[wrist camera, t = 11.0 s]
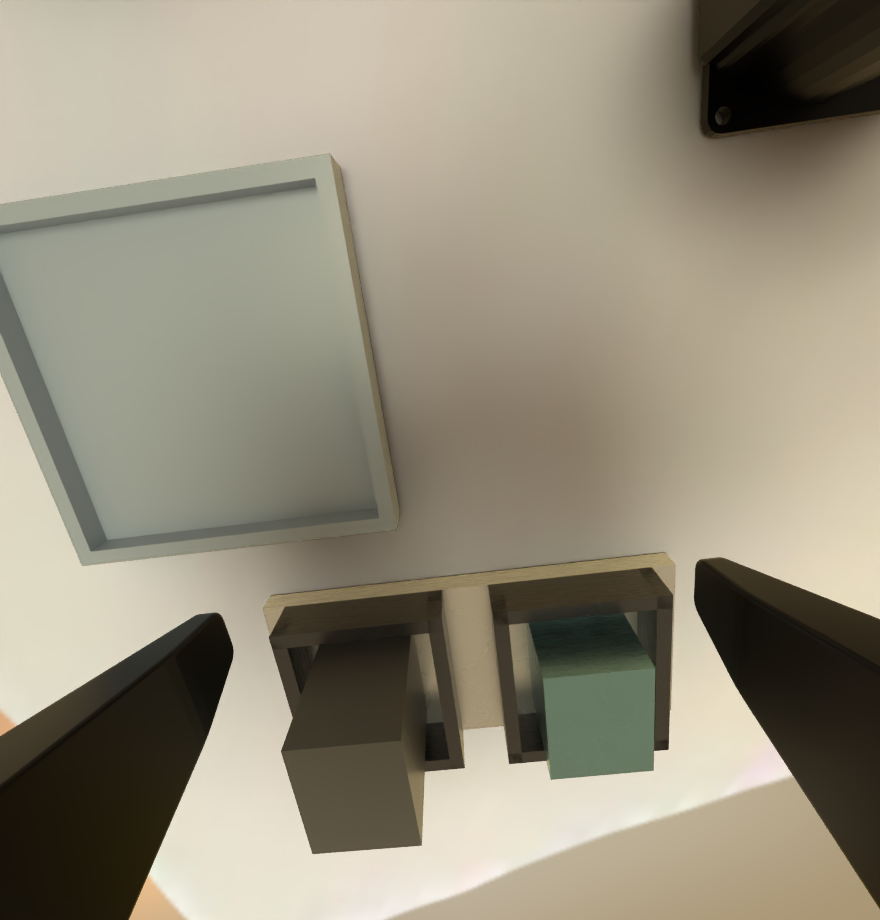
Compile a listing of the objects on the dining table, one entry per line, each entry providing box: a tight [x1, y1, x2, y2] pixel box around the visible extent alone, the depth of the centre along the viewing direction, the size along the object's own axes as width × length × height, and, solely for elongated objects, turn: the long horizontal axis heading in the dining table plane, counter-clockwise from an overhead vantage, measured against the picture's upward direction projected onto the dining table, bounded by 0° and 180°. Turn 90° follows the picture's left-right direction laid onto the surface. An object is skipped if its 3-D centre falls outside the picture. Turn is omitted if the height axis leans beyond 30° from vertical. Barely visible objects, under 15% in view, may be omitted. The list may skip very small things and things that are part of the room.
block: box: [281, 635, 427, 854], centre depth 19 cm, size 4×5×6 cm
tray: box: [0, 153, 400, 566], centre depth 18 cm, size 13×13×2 cm
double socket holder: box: [263, 553, 675, 780], centre depth 20 cm, size 18×8×5 cm, turn 97°
